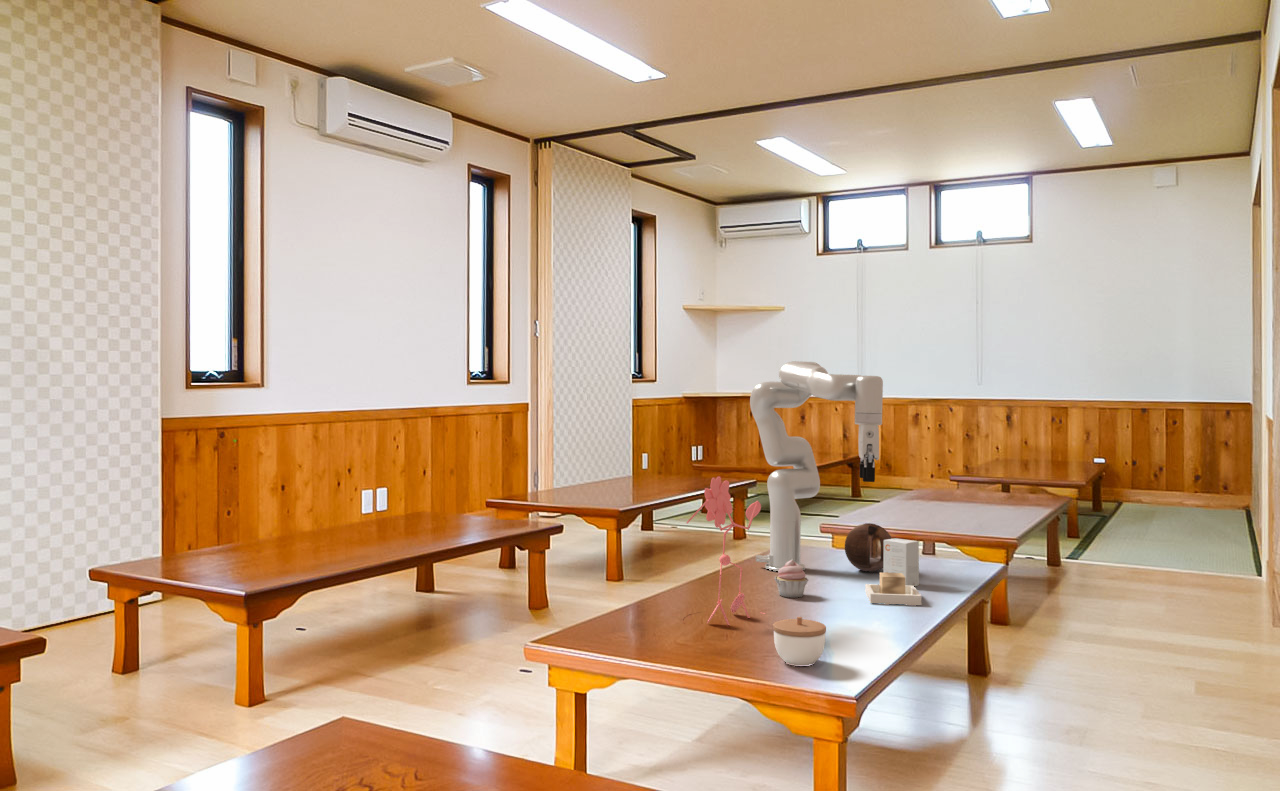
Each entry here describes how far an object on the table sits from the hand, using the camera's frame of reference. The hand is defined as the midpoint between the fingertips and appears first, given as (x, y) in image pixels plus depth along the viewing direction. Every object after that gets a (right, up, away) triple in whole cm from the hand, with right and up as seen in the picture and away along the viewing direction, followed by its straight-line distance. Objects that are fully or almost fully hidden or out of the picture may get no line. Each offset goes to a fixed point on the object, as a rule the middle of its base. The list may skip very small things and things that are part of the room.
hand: (866, 479), depth 261 cm
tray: (+4, -31, -11) cm, 34 cm away
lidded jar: (-31, -31, -71) cm, 84 cm away
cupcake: (-23, -31, -8) cm, 39 cm away
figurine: (-45, -31, -34) cm, 65 cm away
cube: (+4, -31, -11) cm, 33 cm away
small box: (+12, -32, +8) cm, 35 cm away
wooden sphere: (+8, -32, +29) cm, 43 cm away
